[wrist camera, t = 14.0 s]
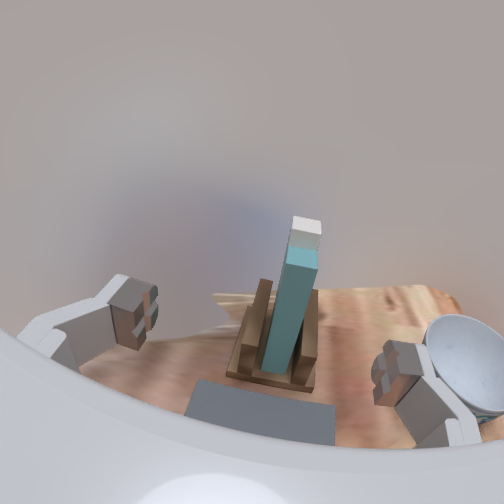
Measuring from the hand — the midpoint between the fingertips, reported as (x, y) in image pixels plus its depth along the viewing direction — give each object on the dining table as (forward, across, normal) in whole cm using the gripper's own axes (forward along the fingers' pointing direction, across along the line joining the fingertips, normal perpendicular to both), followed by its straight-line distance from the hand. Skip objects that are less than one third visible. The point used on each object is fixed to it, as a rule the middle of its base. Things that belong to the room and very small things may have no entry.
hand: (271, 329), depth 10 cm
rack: (+17, -2, +19) cm, 25 cm away
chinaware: (+12, -24, +18) cm, 32 cm away
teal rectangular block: (+17, -2, +18) cm, 25 cm away
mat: (+4, -2, +19) cm, 19 cm away
